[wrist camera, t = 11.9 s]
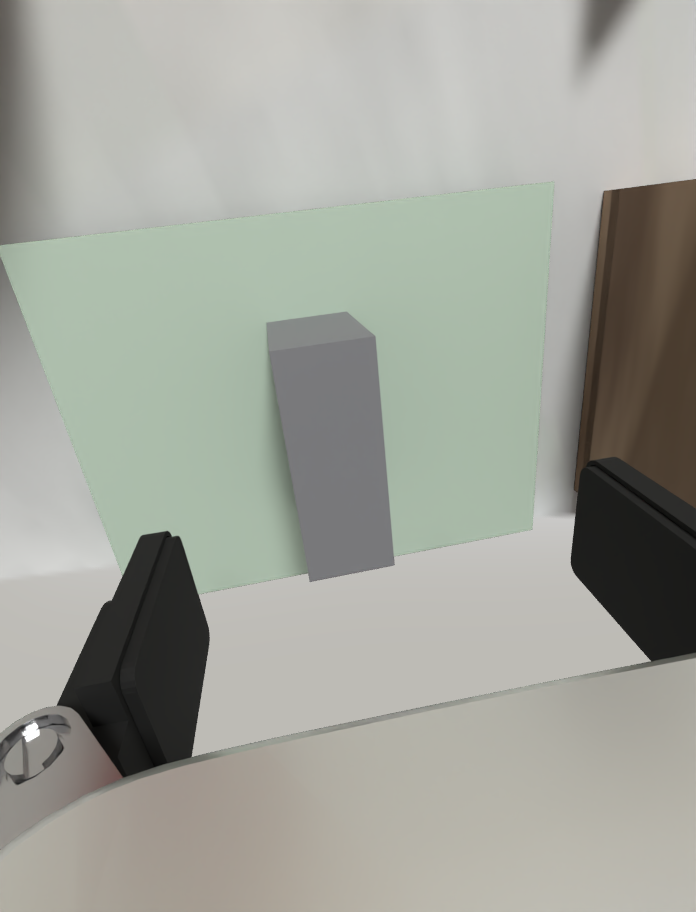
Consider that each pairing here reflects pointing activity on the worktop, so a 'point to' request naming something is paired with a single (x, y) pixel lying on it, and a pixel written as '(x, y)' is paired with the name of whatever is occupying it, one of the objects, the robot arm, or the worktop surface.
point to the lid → (302, 378)
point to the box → (644, 337)
